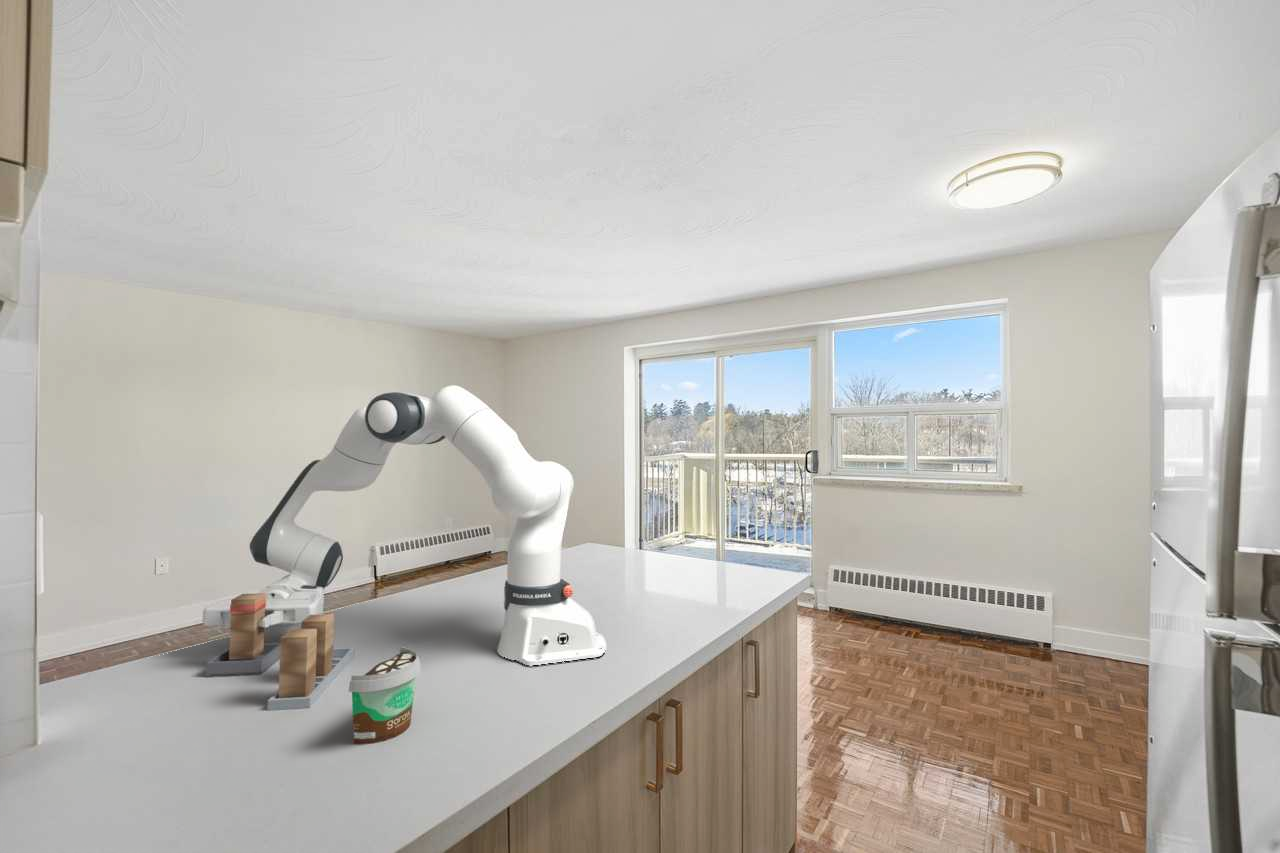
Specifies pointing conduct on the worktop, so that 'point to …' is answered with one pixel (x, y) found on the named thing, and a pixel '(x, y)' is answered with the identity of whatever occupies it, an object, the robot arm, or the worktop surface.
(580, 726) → the worktop surface
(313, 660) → the plain cartridge
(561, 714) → the worktop surface
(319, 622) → the plain cartridge
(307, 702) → the holder
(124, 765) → the worktop surface
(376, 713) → the food container
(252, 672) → the tray
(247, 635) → the block
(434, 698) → the worktop surface
